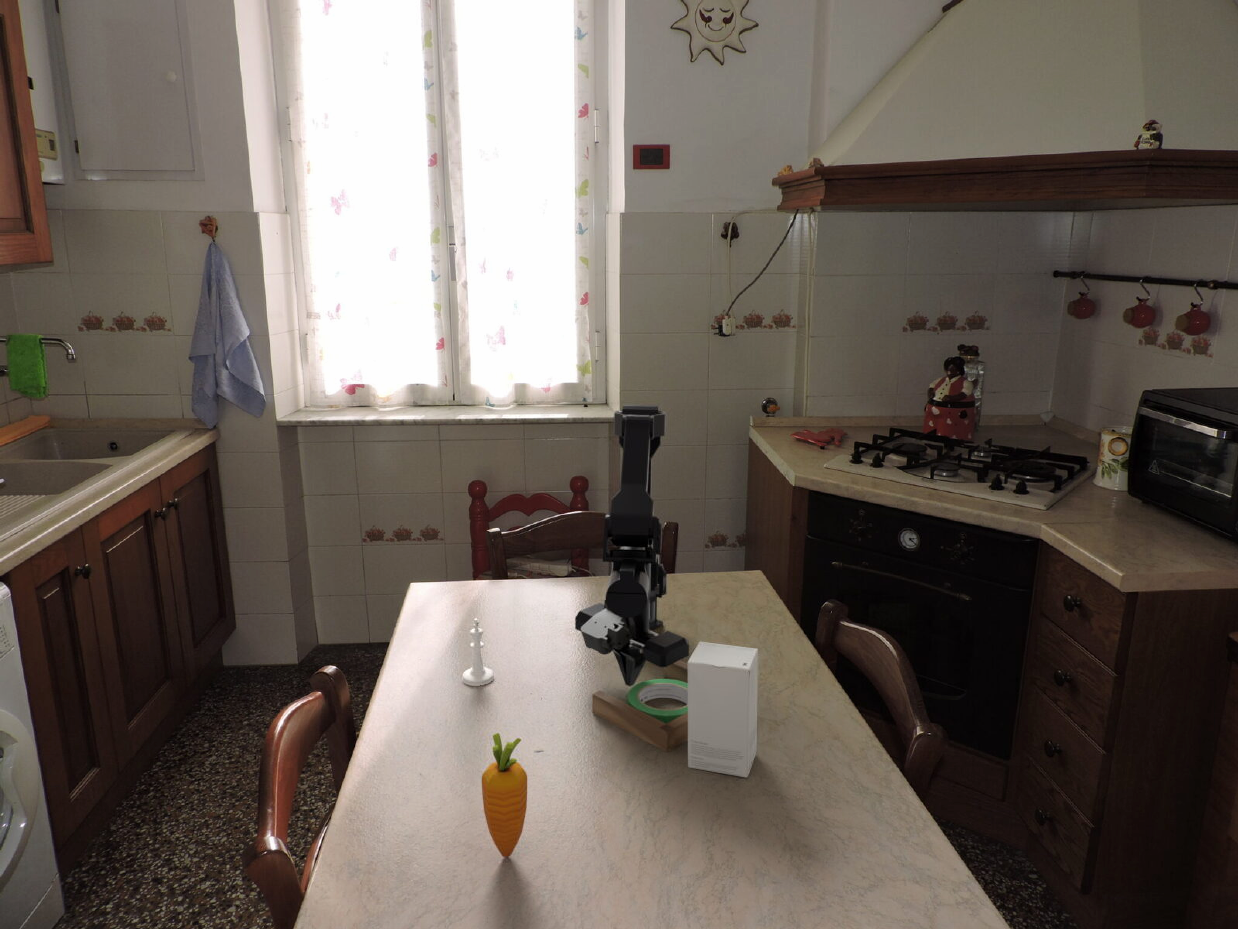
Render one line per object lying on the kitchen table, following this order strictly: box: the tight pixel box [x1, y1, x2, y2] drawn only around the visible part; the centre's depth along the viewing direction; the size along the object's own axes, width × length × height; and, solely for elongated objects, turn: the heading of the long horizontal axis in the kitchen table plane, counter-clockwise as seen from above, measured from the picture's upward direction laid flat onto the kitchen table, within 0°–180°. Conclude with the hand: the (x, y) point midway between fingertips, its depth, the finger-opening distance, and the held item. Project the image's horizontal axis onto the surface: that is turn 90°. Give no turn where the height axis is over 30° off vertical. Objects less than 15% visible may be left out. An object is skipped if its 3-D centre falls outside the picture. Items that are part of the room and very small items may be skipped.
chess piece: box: [461, 618, 495, 687], centre depth 142 cm, size 5×5×10 cm
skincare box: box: [687, 641, 759, 778], centre depth 119 cm, size 8×7×16 cm
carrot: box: [481, 732, 528, 859], centre depth 101 cm, size 5×5×15 cm
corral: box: [591, 660, 688, 753], centre depth 134 cm, size 17×14×3 cm
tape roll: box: [626, 678, 688, 724], centre depth 134 cm, size 11×11×3 cm
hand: (629, 685), depth 140 cm, fingers closed
